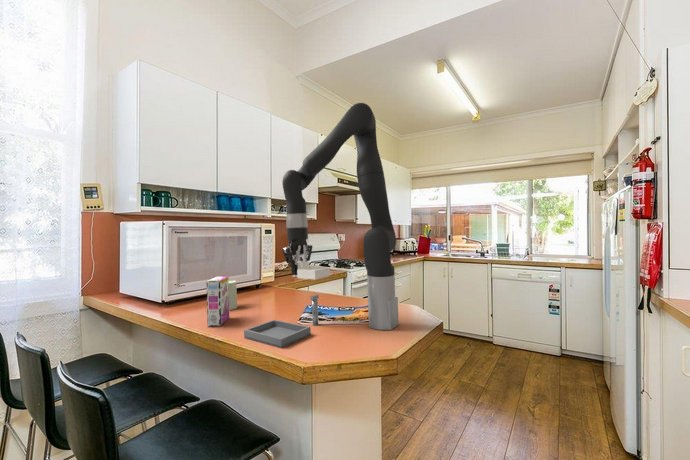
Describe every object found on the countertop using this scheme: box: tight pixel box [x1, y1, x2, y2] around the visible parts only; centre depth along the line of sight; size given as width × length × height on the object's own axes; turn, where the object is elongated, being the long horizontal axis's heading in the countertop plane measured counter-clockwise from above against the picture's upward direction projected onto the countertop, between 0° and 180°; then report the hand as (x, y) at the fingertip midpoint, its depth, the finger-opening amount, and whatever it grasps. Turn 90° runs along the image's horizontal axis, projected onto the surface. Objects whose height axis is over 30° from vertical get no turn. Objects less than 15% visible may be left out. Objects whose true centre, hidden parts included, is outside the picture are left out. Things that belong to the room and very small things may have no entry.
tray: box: [243, 319, 312, 349], centre depth 99 cm, size 17×13×2 cm
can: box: [228, 279, 238, 311], centre depth 138 cm, size 9×9×12 cm
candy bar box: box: [206, 275, 230, 328], centre depth 117 cm, size 11×5×16 cm, turn 5°
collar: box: [292, 261, 331, 281], centre depth 111 cm, size 12×8×5 cm, turn 55°
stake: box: [309, 294, 320, 326], centre depth 110 cm, size 2×3×10 cm, turn 145°
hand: (299, 274), depth 114 cm, fingers closed on collar, 3 cm apart
